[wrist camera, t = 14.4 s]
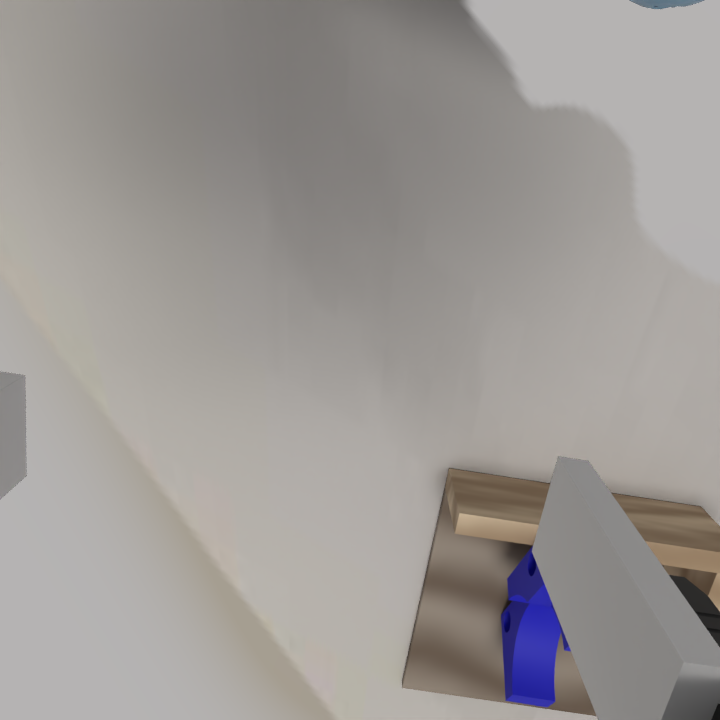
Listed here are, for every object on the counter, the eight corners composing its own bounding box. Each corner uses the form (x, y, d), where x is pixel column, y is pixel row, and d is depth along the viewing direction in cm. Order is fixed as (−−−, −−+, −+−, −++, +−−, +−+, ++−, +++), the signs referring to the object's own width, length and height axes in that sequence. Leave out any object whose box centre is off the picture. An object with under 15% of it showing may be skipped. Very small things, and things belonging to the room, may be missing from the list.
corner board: (449, 468, 45) (459, 512, 39) (701, 506, 45) (747, 556, 39) (402, 681, 51) (405, 747, 45) (625, 714, 51) (656, 784, 45)
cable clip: (538, 538, 39) (548, 637, 35) (608, 550, 39) (626, 649, 35) (481, 611, 48) (484, 697, 43) (539, 621, 48) (547, 707, 44)
